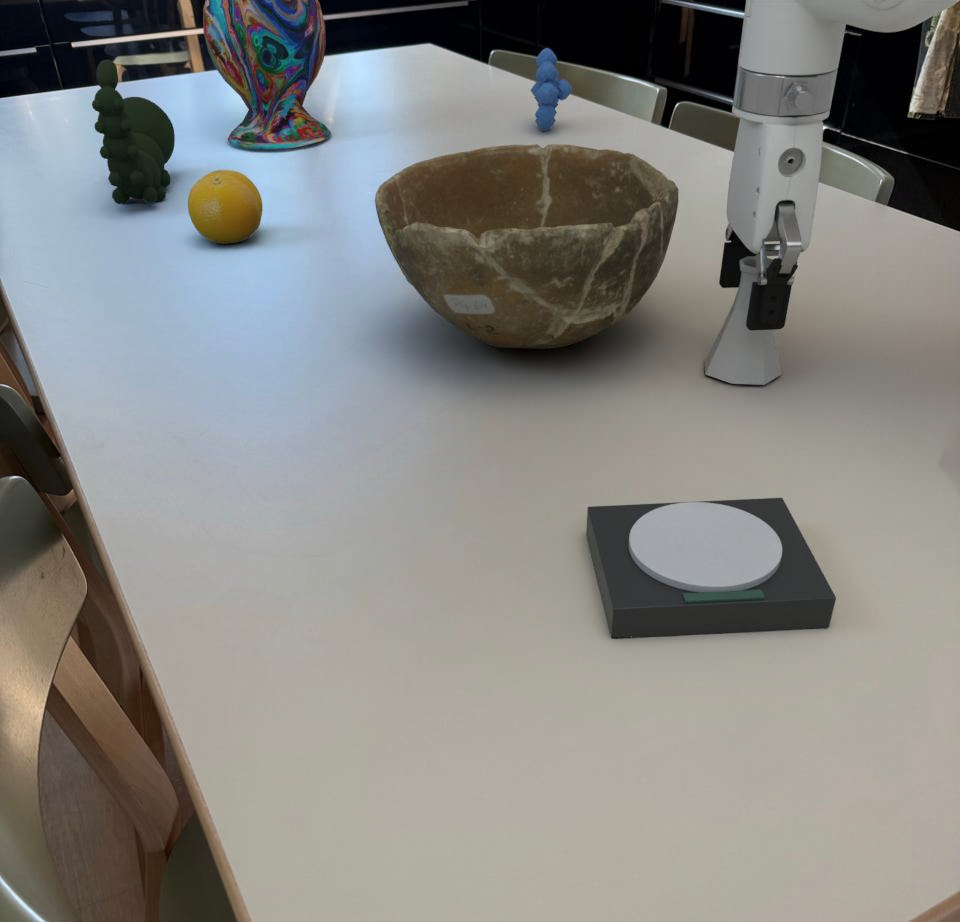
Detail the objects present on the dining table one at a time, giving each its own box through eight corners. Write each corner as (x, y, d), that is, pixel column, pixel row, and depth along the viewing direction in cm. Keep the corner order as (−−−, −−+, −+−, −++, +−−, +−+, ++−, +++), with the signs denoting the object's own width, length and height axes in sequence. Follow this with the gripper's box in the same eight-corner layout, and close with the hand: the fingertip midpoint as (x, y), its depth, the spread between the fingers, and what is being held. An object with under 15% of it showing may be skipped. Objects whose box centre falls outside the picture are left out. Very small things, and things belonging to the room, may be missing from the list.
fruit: (195, 254, 122) (181, 184, 117) (195, 233, 129) (182, 166, 124) (269, 248, 124) (258, 178, 119) (265, 227, 130) (255, 160, 125)
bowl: (483, 430, 86) (479, 251, 77) (343, 328, 104) (326, 172, 95) (727, 352, 97) (750, 187, 88) (563, 271, 115) (567, 127, 106)
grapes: (573, 139, 161) (576, 52, 153) (530, 140, 161) (531, 53, 153) (569, 121, 170) (572, 39, 162) (529, 122, 170) (530, 40, 162)
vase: (200, 140, 165) (159, -86, 146) (294, 120, 175) (267, -95, 156) (263, 160, 155) (228, -80, 136) (359, 137, 164) (338, -91, 145)
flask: (714, 349, 98) (728, 243, 92) (790, 362, 96) (809, 254, 89) (692, 379, 93) (705, 269, 87) (771, 393, 91) (790, 281, 84)
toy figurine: (173, 229, 136) (187, 161, 153) (139, 72, 122) (158, 17, 140) (101, 233, 135) (123, 164, 152) (58, 76, 121) (88, 20, 139)
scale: (777, 525, 74) (783, 489, 72) (829, 627, 65) (838, 590, 63) (586, 534, 74) (587, 499, 72) (611, 638, 65) (614, 601, 63)
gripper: (868, 118, 73) (821, 345, 84) (798, 69, 86) (765, 270, 97) (765, 121, 73) (731, 348, 84) (710, 71, 86) (687, 273, 97)
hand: (749, 306), depth 91 cm, fingers open, 9 cm apart
